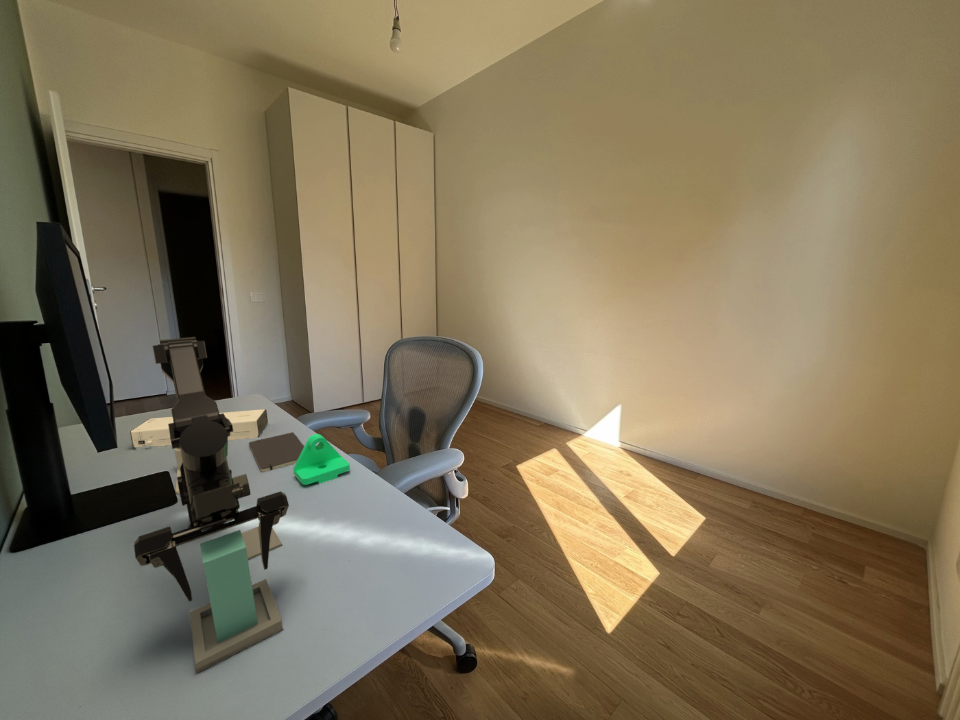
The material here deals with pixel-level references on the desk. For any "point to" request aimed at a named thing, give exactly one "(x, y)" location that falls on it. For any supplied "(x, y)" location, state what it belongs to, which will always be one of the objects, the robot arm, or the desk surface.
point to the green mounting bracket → (319, 462)
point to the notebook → (276, 451)
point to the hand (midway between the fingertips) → (230, 584)
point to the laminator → (242, 421)
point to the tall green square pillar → (229, 584)
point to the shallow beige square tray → (214, 652)
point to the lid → (258, 542)
